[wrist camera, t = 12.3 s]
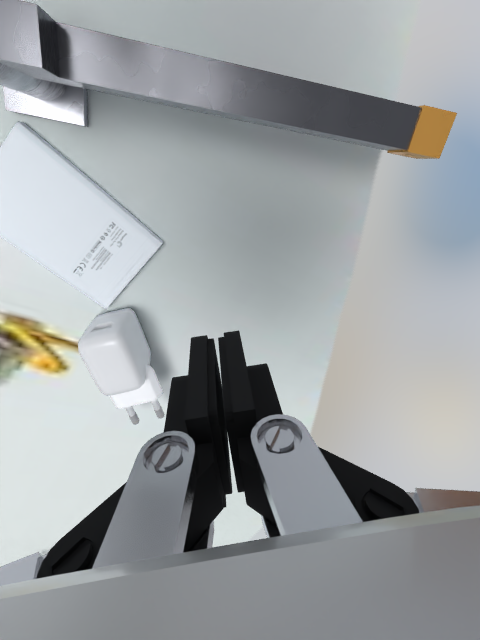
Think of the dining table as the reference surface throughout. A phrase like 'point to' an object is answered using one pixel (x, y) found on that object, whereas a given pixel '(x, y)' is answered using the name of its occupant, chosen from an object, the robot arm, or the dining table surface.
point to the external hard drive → (68, 219)
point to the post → (43, 97)
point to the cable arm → (213, 85)
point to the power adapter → (121, 361)
